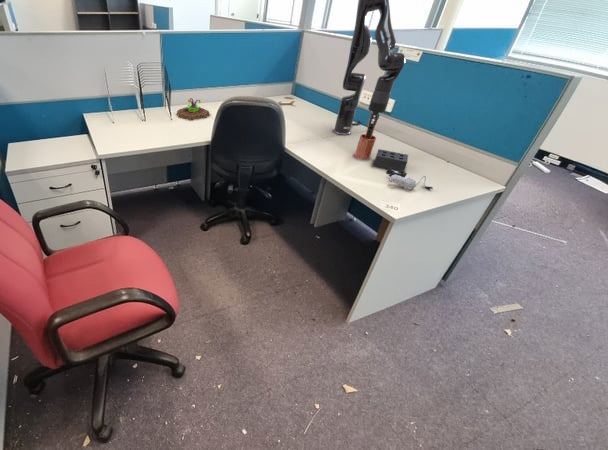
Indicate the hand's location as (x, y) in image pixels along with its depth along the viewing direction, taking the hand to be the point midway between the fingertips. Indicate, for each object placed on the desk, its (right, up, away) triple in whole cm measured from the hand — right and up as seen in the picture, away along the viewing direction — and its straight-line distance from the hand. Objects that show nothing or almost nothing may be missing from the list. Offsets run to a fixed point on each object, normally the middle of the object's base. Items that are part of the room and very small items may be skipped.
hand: (368, 136), depth 164 cm
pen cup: (0, -9, +7) cm, 11 cm away
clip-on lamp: (+9, -27, -17) cm, 33 cm away
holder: (+9, -16, -2) cm, 18 cm away
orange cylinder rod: (0, -5, +4) cm, 6 cm away
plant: (-90, +30, +58) cm, 111 cm away
